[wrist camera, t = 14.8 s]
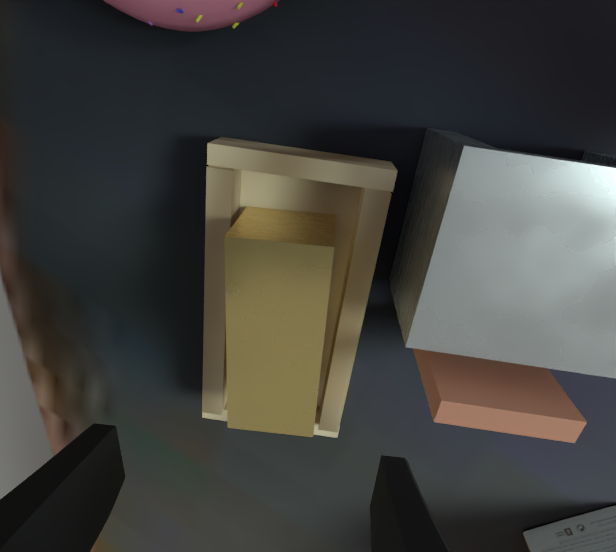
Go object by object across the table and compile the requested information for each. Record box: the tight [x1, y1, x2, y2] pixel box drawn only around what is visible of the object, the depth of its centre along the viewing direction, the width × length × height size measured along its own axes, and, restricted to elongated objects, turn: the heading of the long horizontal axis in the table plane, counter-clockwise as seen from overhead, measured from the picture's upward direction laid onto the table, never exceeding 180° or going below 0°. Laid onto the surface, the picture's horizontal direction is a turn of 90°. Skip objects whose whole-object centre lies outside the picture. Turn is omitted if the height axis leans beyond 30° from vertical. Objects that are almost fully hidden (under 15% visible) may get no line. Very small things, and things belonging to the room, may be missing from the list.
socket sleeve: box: [389, 128, 616, 378], centre depth 15 cm, size 8×7×5 cm
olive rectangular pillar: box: [224, 206, 335, 437], centre depth 17 cm, size 9×4×4 cm, turn 176°
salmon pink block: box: [413, 348, 587, 443], centre depth 15 cm, size 5×8×6 cm, turn 172°
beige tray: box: [202, 137, 398, 438], centre depth 19 cm, size 7×14×2 cm, turn 173°
